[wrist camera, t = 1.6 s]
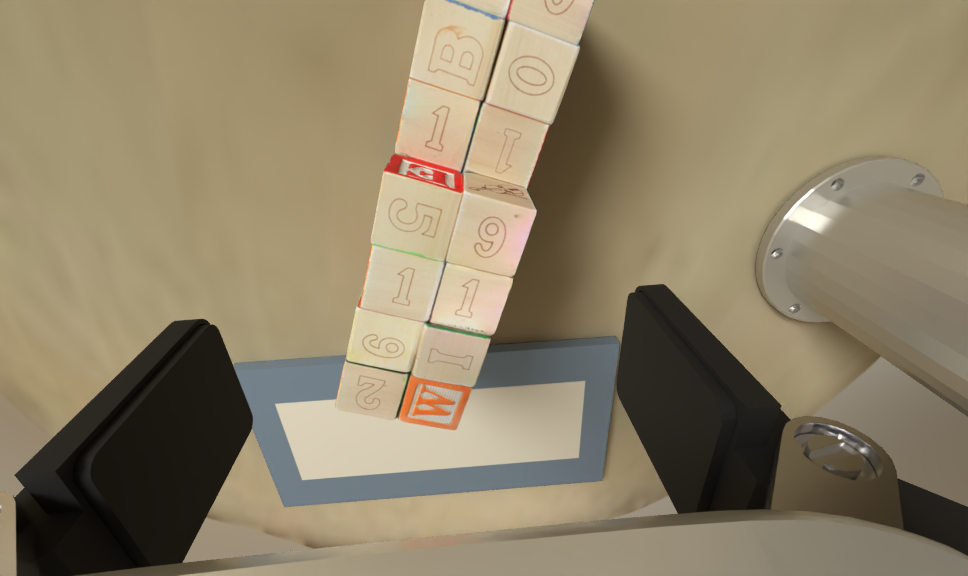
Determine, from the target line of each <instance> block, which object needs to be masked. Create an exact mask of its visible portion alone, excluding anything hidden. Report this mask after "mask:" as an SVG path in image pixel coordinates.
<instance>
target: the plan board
mask: <svg viewBox="0 0 968 576" xmlns="http://www.w3.org/2000/svg"><path fill="white" fill-rule="evenodd" d="M619 346H620V343H619V341H618V339H617V338H616V336H612V337H598V338H584V339H570V340H556V341H542V342H528V343H514V344H500V345H489V347H488V350H487V353H486V356H485V359H484V362H483V364H482V367H481V370H480V373H479V376H478V378H477V381H476V384H475V385H474V386H473V387H472V391H471V393H470V396H469V399H468V401H467V404H466V406H465V409H464V412H463V415H462V417H461V420H460V423H459V425H458V428H457V430H448V429H442V428H436V427H430V426H424V425H418V424H412V423H406V422H403V421H400V420H398V418H396V419H395V420H387V419H382V418H378V417H373V416H368V415H362V414H357V413H352V412H346V411H340V410H337V409H335V402H336V398H337V393H338V388H339V384H340V379H341V375H342V370H343V365H344V362H345V359H346V355H345V356H331V357H317V358H303V359H289V360H275V361H261V362H247V363H235V364H234V366H233V367H234V369H235V372H236V374H237V377H238V379H239V382H240V384H241V387H242V389H243V392H244V394H245V397H246V399H247V402H248V404H249V407H250V409H251V412H252V415H253V426H252V429H253V431H254V434H255V436H256V439H257V441H258V443H259V446H260V448H261V451H262V453H263V456H264V458H265V461H266V463H267V466H268V468H269V471H270V473H271V476H272V478H273V481H274V483H275V486H276V488H277V490H278V493H279V495H280V498H281V500H282V503H283V505H284V507H292V506H304V505H317V504H329V503H341V502H353V501H365V500H377V499H389V498H401V497H413V496H425V495H438V494H450V493H462V492H474V491H486V490H498V489H510V488H522V487H534V486H546V485H559V484H571V483H583V482H595V481H602V478H603V471H604V463H605V455H606V447H607V440H608V432H609V424H610V416H611V408H612V401H613V393H614V385H615V377H616V370H617V362H618V354H619Z"/></svg>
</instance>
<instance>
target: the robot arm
mask: <svg viewBox="0 0 968 576" xmlns="http://www.w3.org/2000/svg"><path fill="white" fill-rule="evenodd" d="M756 278H757V283H758V286H759V289H760V291H761V293H762V295H763V296H764V297H765V299H766V300H767V302H768V303H770V304H771V305H772V306H773V307H774V308H776V309H777V310H778V311H779V312H781V313H782V314H784V315H785V316H787V317H789V318H792V319H796V320H799V321H803V322H813V323H818V322H831V321H832V322H833V323H834V324H836V325H837V326H839V327H840V328H842V329H843V330H844V331H846V332H847V333H849V334H850V335H852V336H853V337H854V338H856V339H857V340H859V341H860V342H862V343H863V344H864V345H866V346H867V347H869V348H870V349H872V350H873V351H875V352H876V353H877V354H879V355H880V356H882V357H883V358H885V359H886V360H887V361H889V362H890V363H892V364H893V365H895V366H896V367H897V368H899V369H900V370H902V371H903V372H905V373H906V374H907V375H909V376H911V377H912V378H913V379H915V380H916V381H917V382H919V383H920V384H922V385H924V386H925V387H926V388H928V389H929V390H930V391H932V392H933V393H935V394H936V395H938V396H939V397H940V398H942V399H943V400H945V401H946V402H948V403H949V404H951V405H952V406H953V407H955V408H956V409H958V410H959V411H960V412H962V413H963V414H965V415H966V416H968V205H966V204H963V203H959V202H956V201H952V200H949V199H945V198H944V197H943V192H942V190H941V187H940V185H939V182H938V181H937V179H936V178H935V177H934V176H933V175H932V173H931V172H930V171H929V170H927V169H926V168H924V167H922V166H921V165H919V164H918V163H914V162H911V161H907V160H904V159H900V158H894V157H888V156H873V157H864V158H860V159H855V160H851V161H848V162H845V163H843V164H840V165H838V166H836V167H833V168H831V169H829V170H827V171H825V172H824V173H822V174H820V175H819V176H817V177H815V178H814V179H812V180H811V181H809V182H808V183H807V184H806V185H804V186H803V187H802V188H801V189H799V190H798V191H797V192H796V193H795V194H794V195H793V196H792V197H791V198H790V199H789V200H788V201H787V202H786V203H785V204H784V205H783V206H782V207H781V209H780V210H779V211H778V213H777V214H776V215H775V217H774V218H773V220H772V221H771V222H770V224H769V226H768V228H767V230H766V232H765V234H764V236H763V238H762V241H761V244H760V247H759V250H758V253H757V260H756ZM616 385H617V393H618V396H619V399H620V401H621V403H622V405H623V406H624V408H625V410H626V412H627V414H628V416H629V418H630V420H631V422H632V424H633V426H634V428H635V430H636V432H637V434H638V436H639V438H640V440H641V442H642V444H643V446H644V448H645V450H646V452H647V454H648V456H649V458H650V460H651V462H652V464H653V465H654V467H655V469H656V471H657V473H658V475H659V477H660V479H661V481H662V483H663V485H664V487H665V489H666V491H667V493H668V495H669V497H670V499H671V501H672V503H673V505H674V507H675V509H676V511H677V513H678V514H671V515H659V516H647V517H633V518H621V519H611V520H600V521H590V522H580V523H569V524H559V525H549V526H538V527H528V528H517V529H507V530H497V531H486V532H476V533H466V534H456V535H446V536H436V537H427V538H417V539H407V540H397V541H387V542H377V543H368V544H358V545H348V546H338V547H329V548H319V549H309V550H299V551H290V552H281V553H272V554H262V555H253V556H244V557H234V558H225V559H216V560H206V561H197V562H188V563H182V562H183V560H184V558H185V556H186V555H187V553H188V551H189V549H190V547H191V545H192V543H193V541H194V539H195V537H196V535H197V533H198V531H199V530H200V528H201V526H202V524H203V522H204V520H205V518H206V516H207V514H208V512H209V510H210V508H211V507H212V505H213V503H214V501H215V499H216V497H217V495H218V493H219V491H220V489H221V487H222V485H223V483H224V482H225V480H226V478H227V476H228V474H229V472H230V470H231V468H232V466H233V464H234V462H235V460H236V458H237V457H238V455H239V453H240V451H241V449H242V447H243V445H244V443H245V441H246V439H247V437H248V435H249V434H250V432H251V429H252V426H253V415H252V412H251V409H250V407H249V404H248V402H247V399H246V397H245V394H244V392H243V389H242V387H241V384H240V382H239V379H238V377H237V374H236V372H235V369H234V367H233V364H232V362H231V359H230V357H229V354H228V352H227V349H226V347H225V344H224V342H223V339H222V337H221V334H220V332H219V330H218V328H217V327H216V326H215V325H210V323H209V322H208V321H207V320H205V319H195V320H181V321H174V322H172V323H171V324H170V325H169V326H168V327H167V328H166V329H165V330H164V331H163V332H161V333H160V334H159V335H158V336H157V337H156V338H155V339H154V340H153V341H152V342H151V343H150V344H149V345H148V346H147V347H146V348H145V349H144V350H143V351H142V352H141V353H140V354H139V355H138V356H137V357H136V358H135V359H134V360H133V361H132V362H131V363H130V364H129V365H127V366H126V367H125V368H124V369H123V370H122V371H121V372H120V373H119V374H118V375H117V376H116V377H115V378H114V379H113V380H112V381H111V382H110V383H109V384H108V385H107V386H106V387H105V388H104V389H103V390H102V391H101V392H100V393H99V394H98V395H97V396H96V397H95V398H94V399H92V400H91V401H90V402H89V403H88V404H87V405H86V406H85V407H84V408H83V409H82V410H81V411H80V412H79V413H78V414H77V415H76V416H75V417H74V418H73V419H72V420H71V421H70V422H69V423H68V424H67V425H66V426H65V427H64V428H63V429H62V430H61V431H60V432H58V433H57V434H56V435H55V436H54V437H53V438H52V439H51V440H50V441H49V442H48V443H47V444H46V445H45V446H44V447H43V448H42V449H41V450H40V451H39V452H38V453H37V454H36V455H35V456H34V457H33V458H32V459H31V460H30V461H29V462H28V463H27V464H26V465H25V466H23V468H21V470H20V471H18V472H17V473H16V474H15V476H16V478H17V479H18V480H19V481H20V482H21V484H22V485H23V486H24V487H25V488H24V489H23V490H22V491H21V492H20V493H19V494H18V495H17V496H16V497H14V496H13V495H11V494H9V493H7V492H4V491H0V576H968V507H966V506H964V505H961V504H959V503H957V502H954V501H952V500H949V499H947V498H944V497H942V496H939V495H937V494H935V493H932V492H930V491H927V490H925V489H922V488H920V487H917V486H915V485H913V484H910V483H907V482H905V481H903V480H900V479H898V478H897V472H896V469H895V466H894V463H893V461H892V459H891V458H890V457H889V455H888V454H887V453H886V452H885V450H884V449H883V448H882V447H881V446H879V445H878V444H877V443H876V442H875V441H873V440H872V439H871V438H869V437H868V436H866V435H865V434H863V433H861V432H860V431H858V430H856V429H854V428H852V427H850V426H847V425H845V424H843V423H840V422H838V421H834V420H830V419H826V418H822V417H812V416H804V417H798V418H794V419H792V420H790V419H789V418H788V417H787V416H786V414H785V413H784V412H783V411H782V410H781V409H780V408H781V405H780V404H779V403H778V402H777V400H776V399H775V398H774V397H773V396H772V395H771V394H770V393H769V392H768V391H767V390H766V389H765V388H764V387H763V386H762V385H761V384H760V383H759V382H758V381H757V380H756V379H755V378H754V377H753V376H752V374H751V373H750V372H749V371H748V370H747V369H746V368H745V367H744V366H743V365H742V364H741V363H740V362H739V361H738V360H737V359H736V358H735V357H734V356H733V355H732V354H731V353H730V352H729V351H728V350H727V349H726V347H725V346H724V345H723V344H722V343H721V342H720V341H719V340H718V339H717V338H716V337H715V336H714V335H713V334H712V333H711V332H710V331H709V330H708V329H707V328H706V327H705V326H704V325H703V324H702V323H701V321H700V320H699V319H698V318H697V317H696V316H695V315H694V314H693V313H692V312H691V311H690V310H689V309H688V308H687V307H686V306H685V305H684V304H683V303H682V302H681V301H680V300H679V299H678V298H677V297H676V296H675V294H674V293H673V292H672V291H671V290H670V289H669V288H668V287H667V286H666V285H664V284H659V285H646V286H638V287H637V288H636V290H635V292H634V293H630V294H629V296H628V300H627V307H626V315H625V322H624V330H623V337H622V345H621V352H620V360H619V367H618V375H617V384H616Z"/></svg>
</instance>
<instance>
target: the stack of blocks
mask: <svg viewBox="0 0 968 576" xmlns="http://www.w3.org/2000/svg"><path fill="white" fill-rule="evenodd" d="M594 1H595V0H425V2H424V6H423V11H422V16H421V21H420V27H419V32H418V36H417V41H416V46H415V51H414V56H413V61H412V66H411V71H410V77H409V81H408V84H407V88H406V94H405V98H404V104H403V109H402V114H401V120H400V125H399V130H398V136H397V141H396V147H395V152H396V153H395V154H394V155H393V156H392V157H391V159H390V161H389V162H388V164H387V166H386V168H385V169H384V172H383V177H382V182H381V187H380V193H379V198H378V203H377V209H376V214H375V220H374V226H373V231H372V236H371V244H372V247H371V252H370V257H369V262H368V267H367V272H366V277H365V282H364V287H363V291H362V294H361V296H360V299H359V302H358V304H357V307H356V311H355V316H354V321H353V326H352V331H351V336H350V341H349V345H348V350H347V355H346V359H345V362H344V365H343V370H342V375H341V379H340V384H339V388H338V393H337V398H336V402H335V409H337V410H340V411H346V412H352V413H357V414H362V415H368V416H373V417H378V418H382V419H387V420H395V419H396V418H398V420H400V421H403V422H406V423H412V424H418V425H424V426H430V427H436V428H442V429H448V430H457V428H458V425H459V423H460V420H461V417H462V415H463V412H464V409H465V406H466V404H467V401H468V399H469V396H470V393H471V391H472V387H473V386H474V385H475V384H476V381H477V378H478V376H479V373H480V370H481V367H482V364H483V362H484V359H485V356H486V353H487V350H488V347H489V344H490V340H491V335H492V334H494V333H495V332H496V329H497V326H498V324H499V321H500V318H501V315H502V312H503V310H504V307H505V304H506V301H507V298H508V295H509V293H510V290H511V287H512V283H513V276H514V275H515V273H516V271H517V268H518V265H519V262H520V259H521V257H522V254H523V251H524V248H525V245H526V243H527V240H528V237H529V234H530V231H531V228H532V225H533V222H534V220H535V217H536V215H537V210H536V208H535V206H534V204H533V202H532V200H531V198H530V196H529V193H528V191H527V188H528V186H529V183H530V180H531V177H532V175H533V172H534V169H535V166H536V163H537V161H538V158H539V155H540V152H541V150H542V147H543V144H544V141H545V139H546V136H547V133H548V130H549V127H550V125H551V124H552V123H553V122H554V119H555V117H556V114H557V111H558V109H559V106H560V104H561V101H562V98H563V96H564V93H565V90H566V88H567V85H568V82H569V79H570V76H571V73H572V71H573V68H574V65H575V62H576V59H577V57H578V54H579V51H580V46H579V42H580V39H581V37H582V34H583V31H584V29H585V26H586V23H587V21H588V18H589V15H590V12H591V9H592V7H593V4H594Z"/></svg>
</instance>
